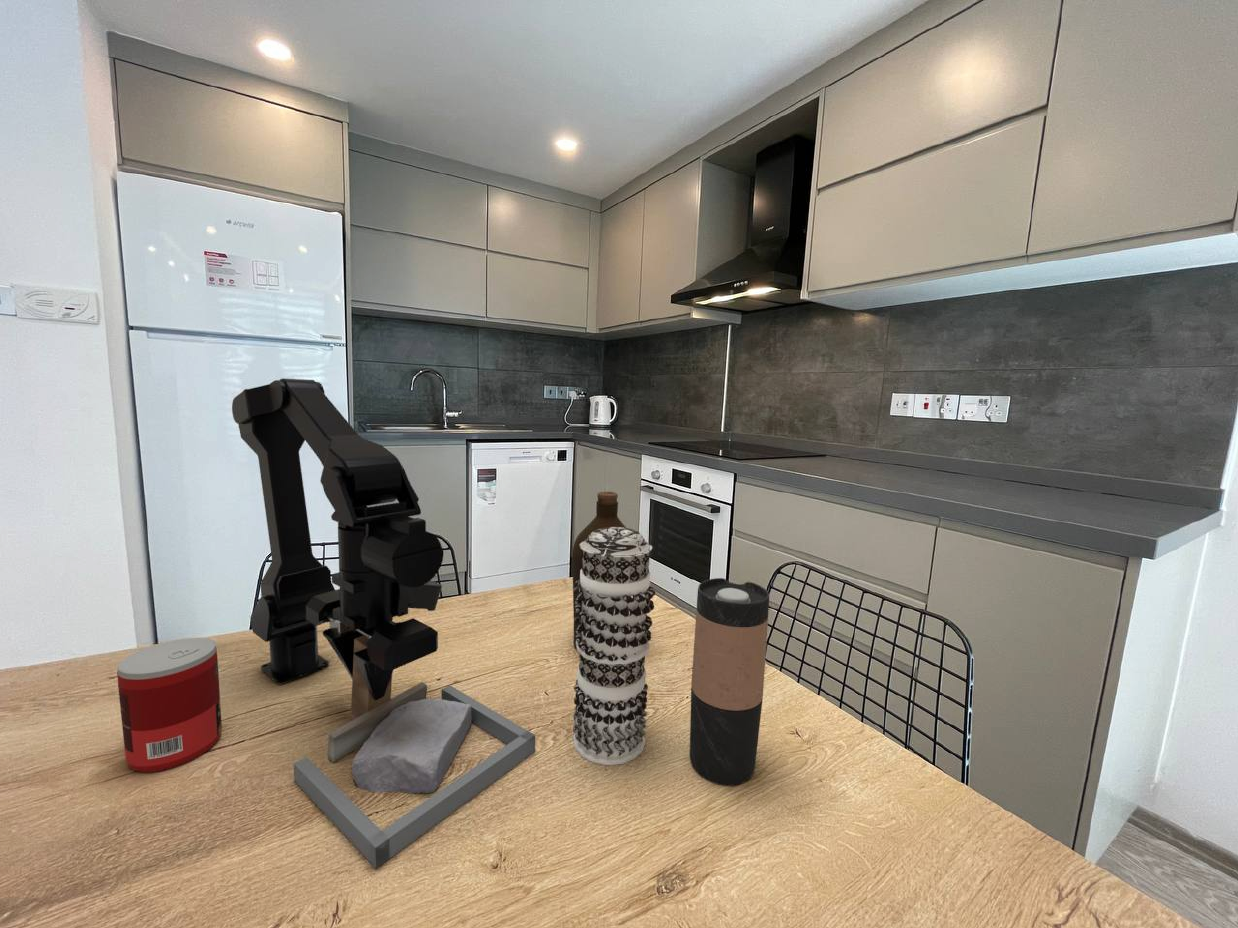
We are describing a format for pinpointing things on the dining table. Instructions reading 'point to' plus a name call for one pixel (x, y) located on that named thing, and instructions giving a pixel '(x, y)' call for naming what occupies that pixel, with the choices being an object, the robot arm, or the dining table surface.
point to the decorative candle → (612, 645)
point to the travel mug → (727, 679)
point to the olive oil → (603, 519)
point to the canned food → (169, 703)
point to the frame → (433, 810)
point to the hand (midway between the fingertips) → (370, 692)
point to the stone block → (412, 747)
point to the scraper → (367, 710)
